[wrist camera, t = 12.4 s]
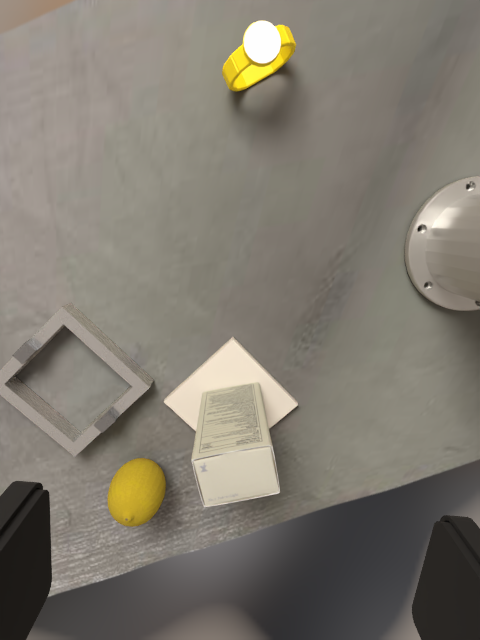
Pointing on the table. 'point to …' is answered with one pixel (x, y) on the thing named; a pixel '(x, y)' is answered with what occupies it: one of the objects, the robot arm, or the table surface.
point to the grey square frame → (43, 413)
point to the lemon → (136, 492)
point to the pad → (229, 384)
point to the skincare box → (233, 447)
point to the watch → (258, 55)
